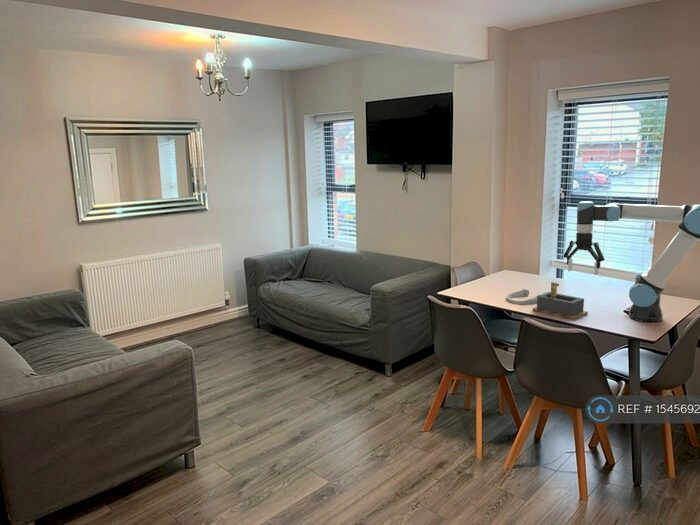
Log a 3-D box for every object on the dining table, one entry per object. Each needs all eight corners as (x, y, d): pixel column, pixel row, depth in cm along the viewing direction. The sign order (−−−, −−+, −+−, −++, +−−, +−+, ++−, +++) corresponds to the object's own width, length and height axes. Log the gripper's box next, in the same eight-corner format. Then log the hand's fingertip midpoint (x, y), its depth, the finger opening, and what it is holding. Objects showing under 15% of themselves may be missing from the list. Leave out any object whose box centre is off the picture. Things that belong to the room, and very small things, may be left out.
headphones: (517, 306, 296) (518, 297, 295) (501, 298, 311) (501, 290, 310) (544, 302, 301) (545, 294, 300) (527, 295, 316) (527, 287, 315)
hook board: (587, 314, 276) (589, 285, 273) (574, 320, 268) (576, 290, 264) (545, 305, 294) (547, 277, 291) (532, 310, 286) (533, 282, 282)
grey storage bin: (583, 311, 277) (584, 298, 276) (572, 316, 270) (572, 303, 268) (548, 303, 292) (548, 291, 291) (536, 308, 285) (537, 296, 283)
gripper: (612, 232, 259) (610, 274, 263) (564, 229, 277) (563, 268, 281) (606, 234, 254) (604, 277, 258) (557, 231, 272) (556, 270, 276)
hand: (582, 272), depth 270 cm, fingers open, 13 cm apart
